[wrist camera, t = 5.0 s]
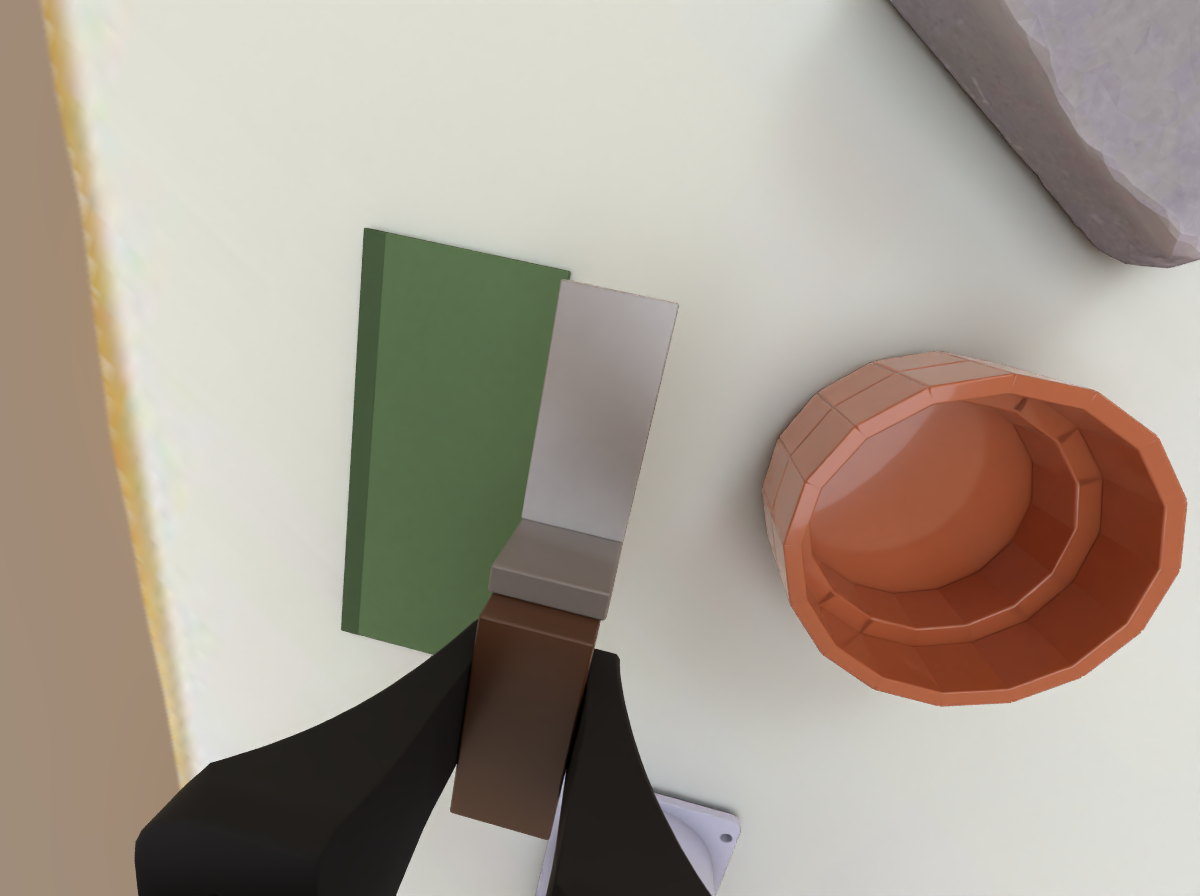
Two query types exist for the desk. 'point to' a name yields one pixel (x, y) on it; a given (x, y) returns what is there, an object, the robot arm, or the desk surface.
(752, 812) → the desk surface
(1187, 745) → the desk surface
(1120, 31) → the stone block
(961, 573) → the bowl
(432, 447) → the green flat rectangular slab
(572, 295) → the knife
